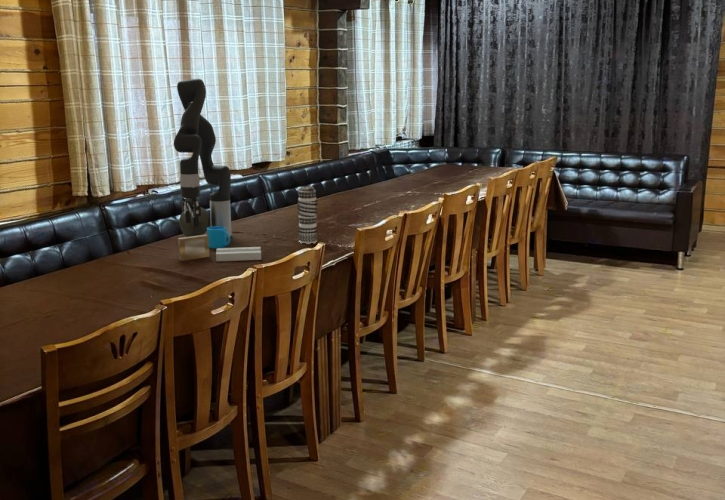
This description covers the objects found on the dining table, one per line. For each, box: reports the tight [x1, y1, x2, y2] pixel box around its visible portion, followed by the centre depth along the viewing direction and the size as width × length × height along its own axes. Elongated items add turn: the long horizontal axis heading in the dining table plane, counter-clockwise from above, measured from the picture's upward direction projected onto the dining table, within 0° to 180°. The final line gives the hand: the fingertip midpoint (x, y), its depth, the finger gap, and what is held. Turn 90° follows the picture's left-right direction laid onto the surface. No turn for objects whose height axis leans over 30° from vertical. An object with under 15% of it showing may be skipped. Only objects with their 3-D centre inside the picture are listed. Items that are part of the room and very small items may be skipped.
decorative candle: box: [296, 186, 319, 245], centre depth 302 cm, size 9×9×25 cm
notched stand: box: [215, 246, 262, 262], centre depth 277 cm, size 10×18×3 cm, turn 100°
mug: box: [206, 226, 231, 249], centre depth 295 cm, size 12×8×8 cm
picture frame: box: [177, 234, 210, 262], centre depth 275 cm, size 3×12×9 cm, turn 125°
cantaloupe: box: [178, 206, 211, 237], centre depth 309 cm, size 14×14×15 cm
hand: (192, 224), depth 272 cm, fingers open, 8 cm apart
